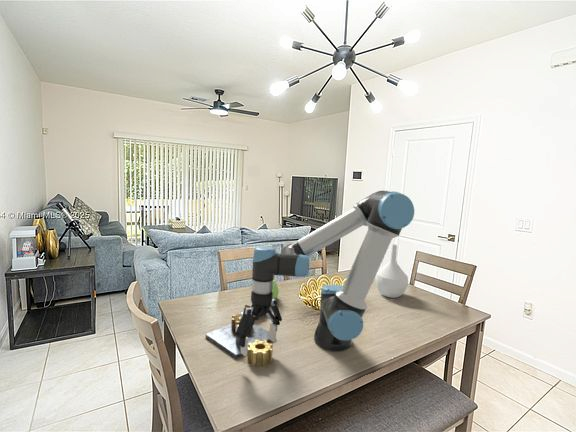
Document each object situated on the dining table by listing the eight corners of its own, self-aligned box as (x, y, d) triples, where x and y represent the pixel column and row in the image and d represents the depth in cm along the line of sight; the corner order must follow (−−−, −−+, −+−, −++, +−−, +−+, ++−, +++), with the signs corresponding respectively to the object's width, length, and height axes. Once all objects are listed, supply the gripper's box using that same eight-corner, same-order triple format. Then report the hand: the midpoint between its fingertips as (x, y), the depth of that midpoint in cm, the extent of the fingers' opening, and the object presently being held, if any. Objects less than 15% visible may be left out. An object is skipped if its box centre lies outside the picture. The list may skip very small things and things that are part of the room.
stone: (252, 321, 138) (252, 311, 137) (243, 311, 148) (243, 301, 147) (269, 318, 142) (270, 308, 142) (260, 308, 152) (260, 299, 151)
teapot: (246, 293, 170) (247, 272, 168) (268, 290, 176) (269, 269, 174) (261, 308, 152) (262, 283, 151) (284, 303, 159) (285, 280, 157)
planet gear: (277, 359, 110) (277, 346, 109) (258, 370, 103) (259, 356, 103) (260, 349, 116) (261, 337, 115) (242, 359, 109) (242, 346, 109)
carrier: (275, 338, 124) (276, 319, 123) (236, 358, 109) (236, 336, 108) (244, 321, 137) (244, 303, 136) (205, 337, 123) (205, 317, 121)
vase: (369, 288, 186) (373, 241, 182) (397, 289, 188) (402, 241, 184) (381, 301, 168) (386, 248, 164) (412, 301, 170) (418, 249, 166)
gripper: (279, 280, 118) (275, 331, 121) (226, 295, 100) (223, 355, 102) (293, 285, 113) (289, 339, 116) (240, 303, 95) (237, 366, 97)
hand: (258, 347), depth 109 cm, fingers open, 13 cm apart
